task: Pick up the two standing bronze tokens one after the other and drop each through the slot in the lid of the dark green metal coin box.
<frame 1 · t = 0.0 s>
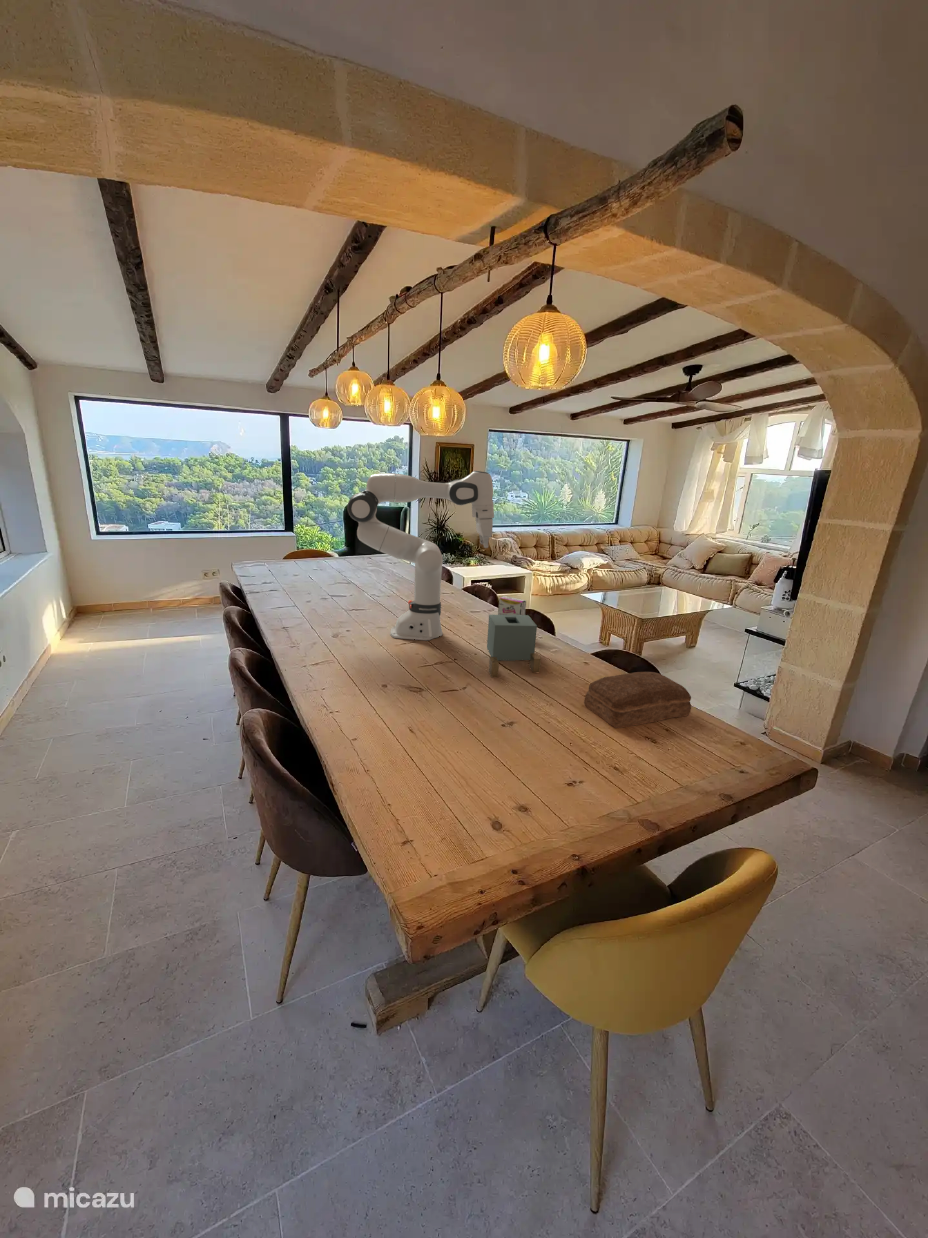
hand: (484, 545, 204), 39 cm above the table, tool pointing down, fingers open, 8 cm apart
candy bar box: (509, 634, 217), on the table
bread: (635, 711, 152), on the table
coin box: (509, 653, 194), on the table
token b: (534, 669, 179), on the table
token a: (493, 674, 173), on the table
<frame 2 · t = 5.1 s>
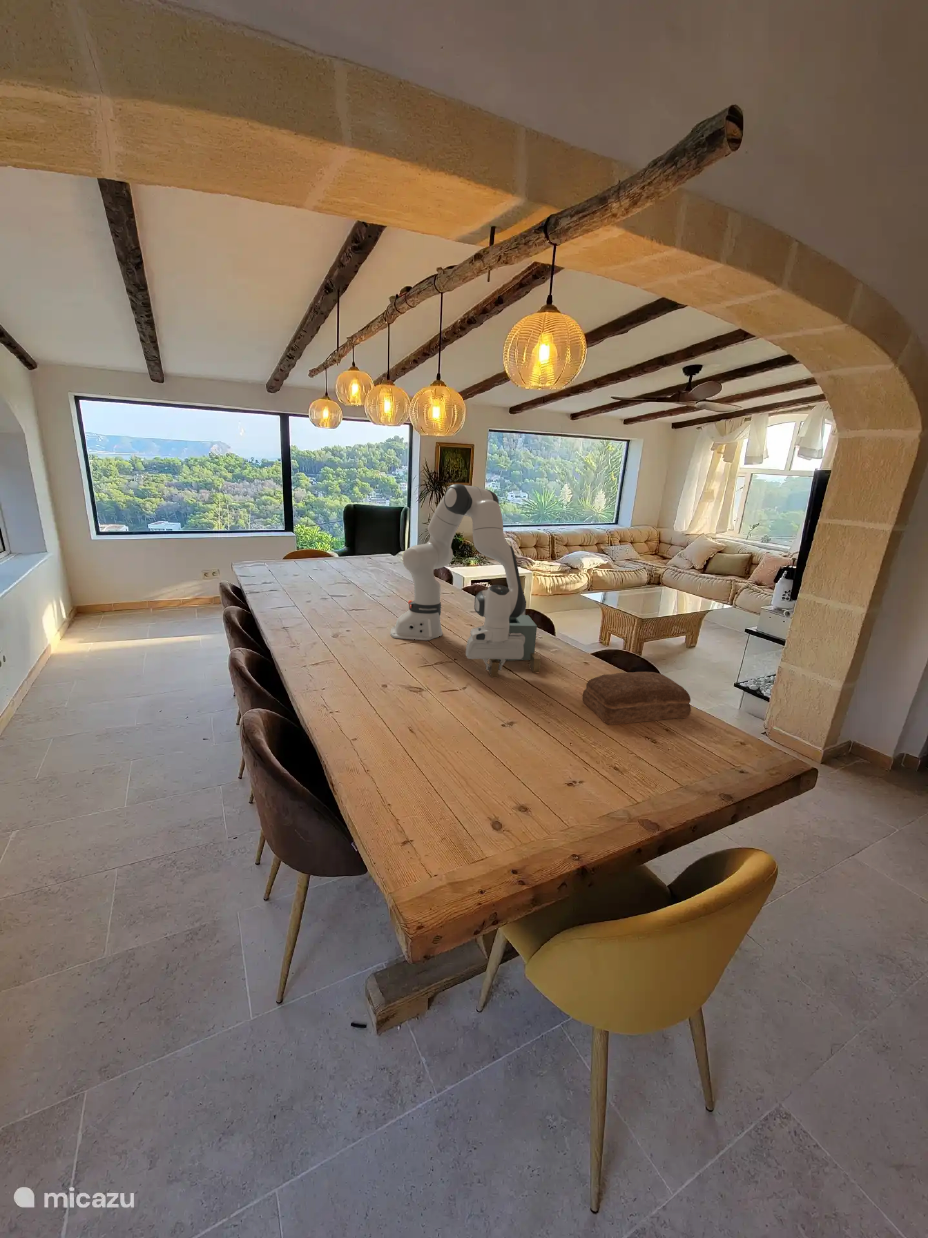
hand: (493, 669, 173), 2 cm above the table, tool pointing down, fingers closed on token a, 2 cm apart
token a: (493, 674, 173), on the table, touching gripper
when the fingers open (18 cm above the table, at t = 8.9 s): token a drops 15 cm, resting on coin box.
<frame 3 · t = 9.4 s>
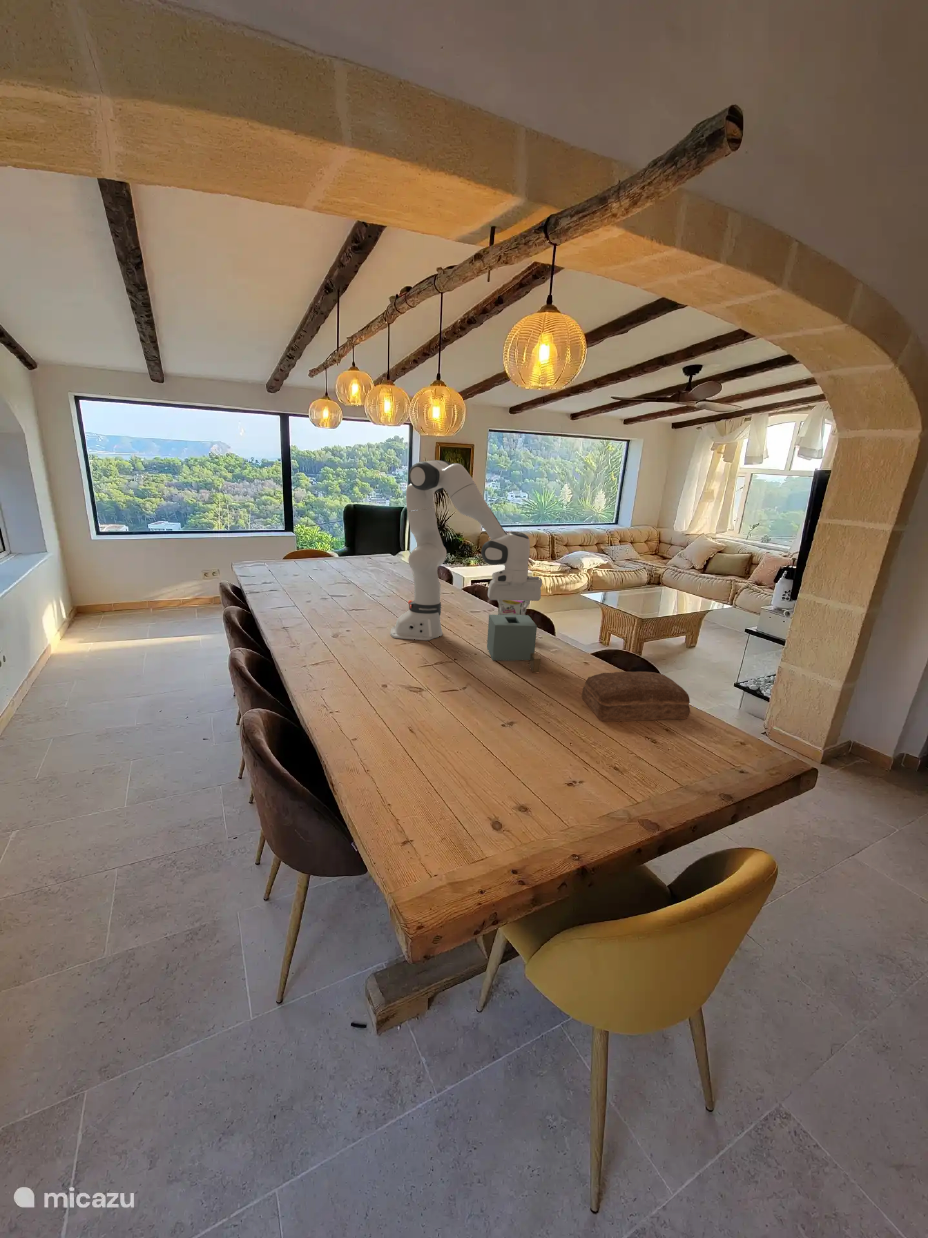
hand: (512, 611, 189), 18 cm above the table, tool pointing down, fingers open, 7 cm apart
token a: (509, 651, 193), point 1 cm above the table, touching coin box
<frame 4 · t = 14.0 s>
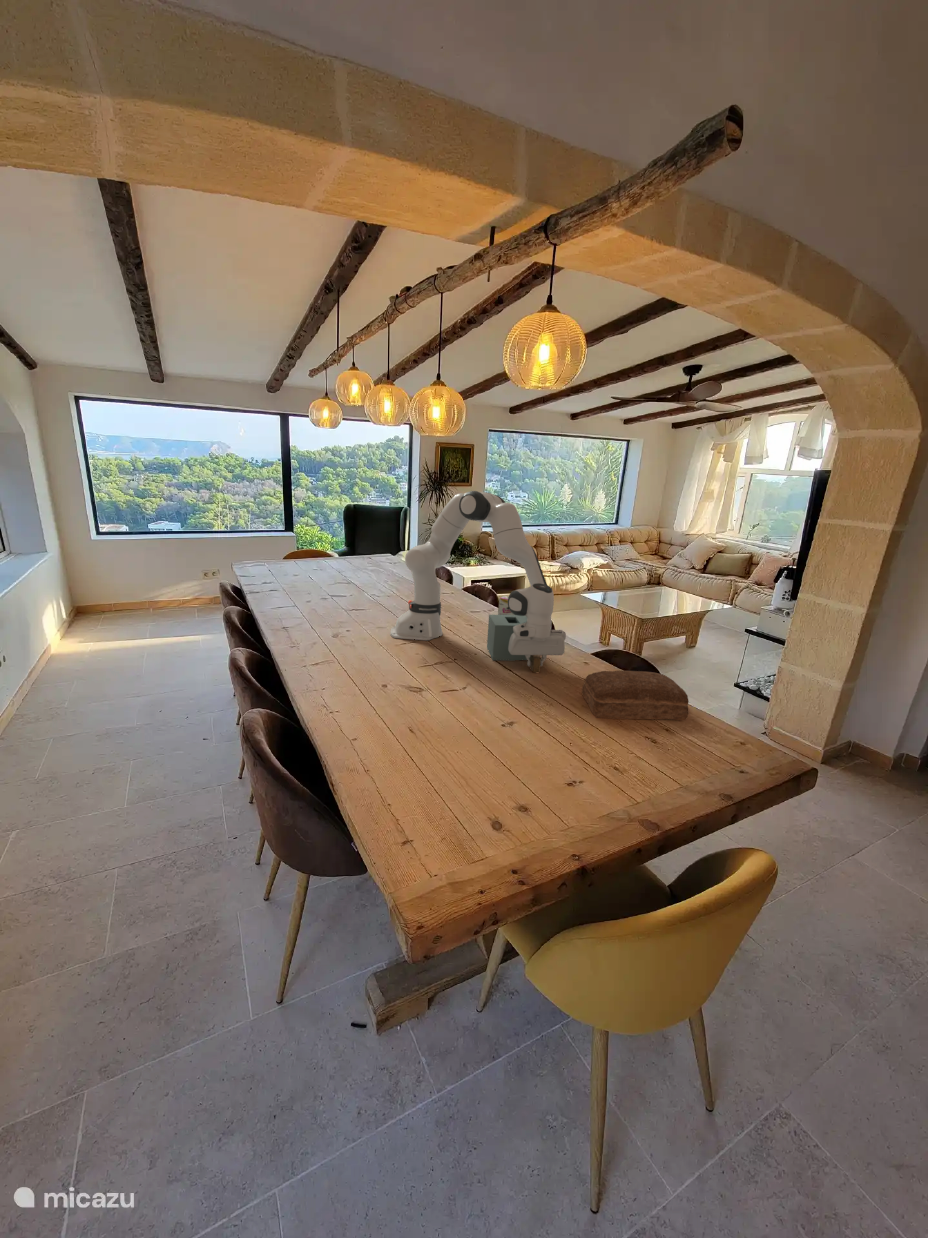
hand: (534, 665, 179), 2 cm above the table, tool pointing down, fingers closed on token b, 2 cm apart
token b: (534, 669, 179), on the table, touching gripper
when the fingers open (18 cm above the table, at t = 17.4 s): token b drops 10 cm, resting on token a.
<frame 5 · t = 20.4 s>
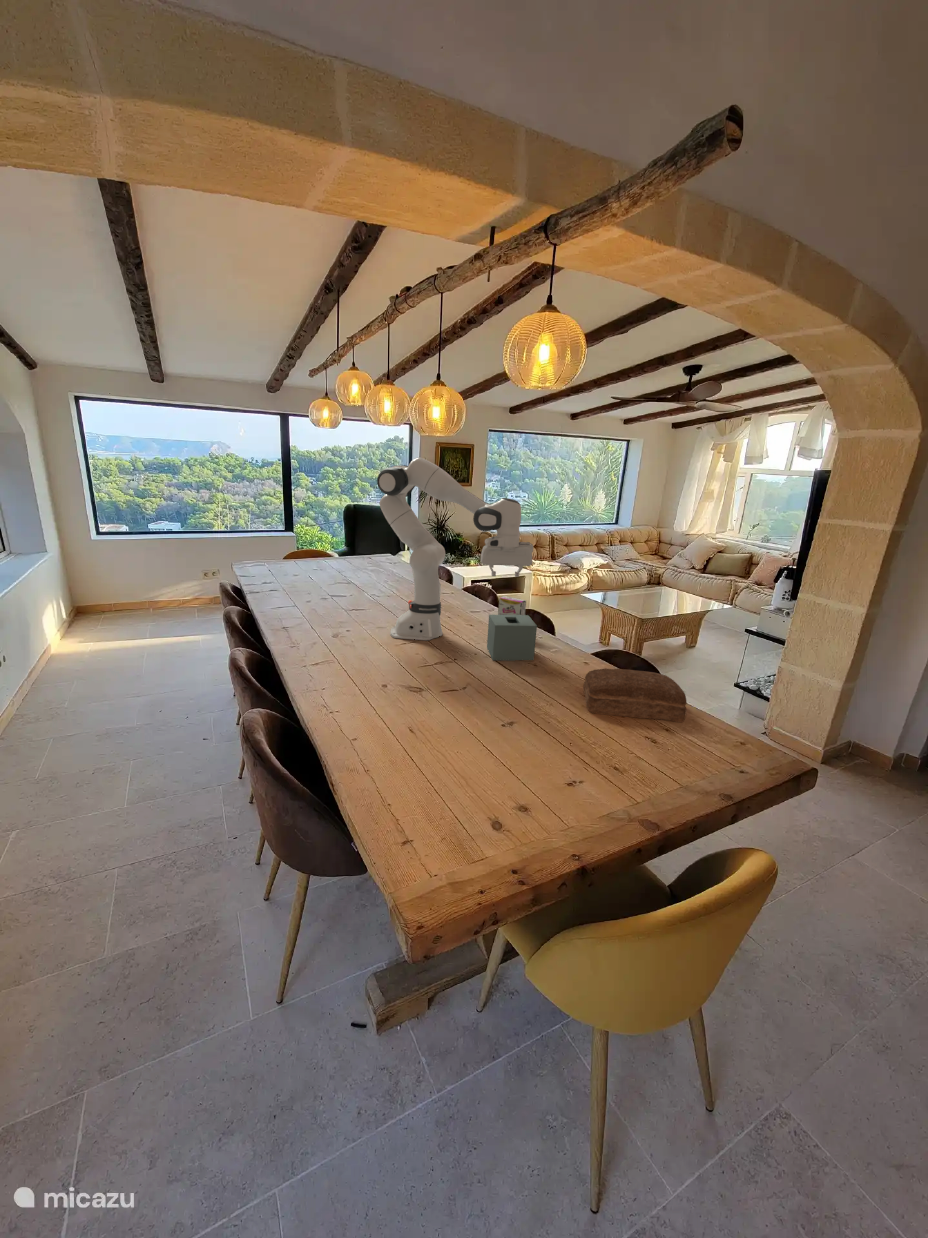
hand: (505, 576, 194), 29 cm above the table, tool pointing down, fingers open, 8 cm apart
token b: (509, 637, 192), point 6 cm above the table, touching token a
token a: (509, 651, 193), point 1 cm above the table, touching coin box, token b
at the end: token a inside the target area on the coin box (0.0 cm from its centre), point 1.0 cm above the coin box's base; token b inside the target area on the coin box (0.8 cm from its centre), point 6.5 cm above the coin box's base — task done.
